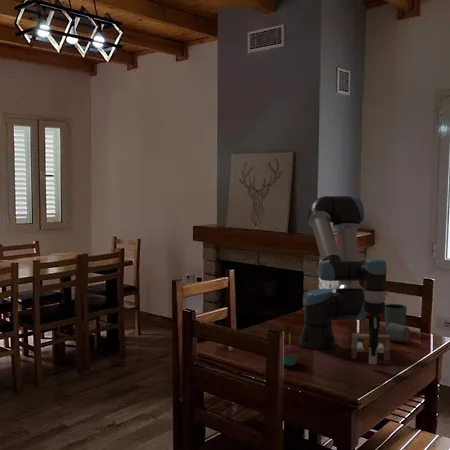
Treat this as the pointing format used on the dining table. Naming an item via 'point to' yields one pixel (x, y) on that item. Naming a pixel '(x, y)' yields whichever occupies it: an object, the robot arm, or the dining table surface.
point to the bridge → (366, 336)
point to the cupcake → (291, 353)
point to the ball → (366, 344)
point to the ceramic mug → (398, 332)
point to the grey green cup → (395, 314)
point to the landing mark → (360, 348)
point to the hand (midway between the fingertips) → (372, 363)
